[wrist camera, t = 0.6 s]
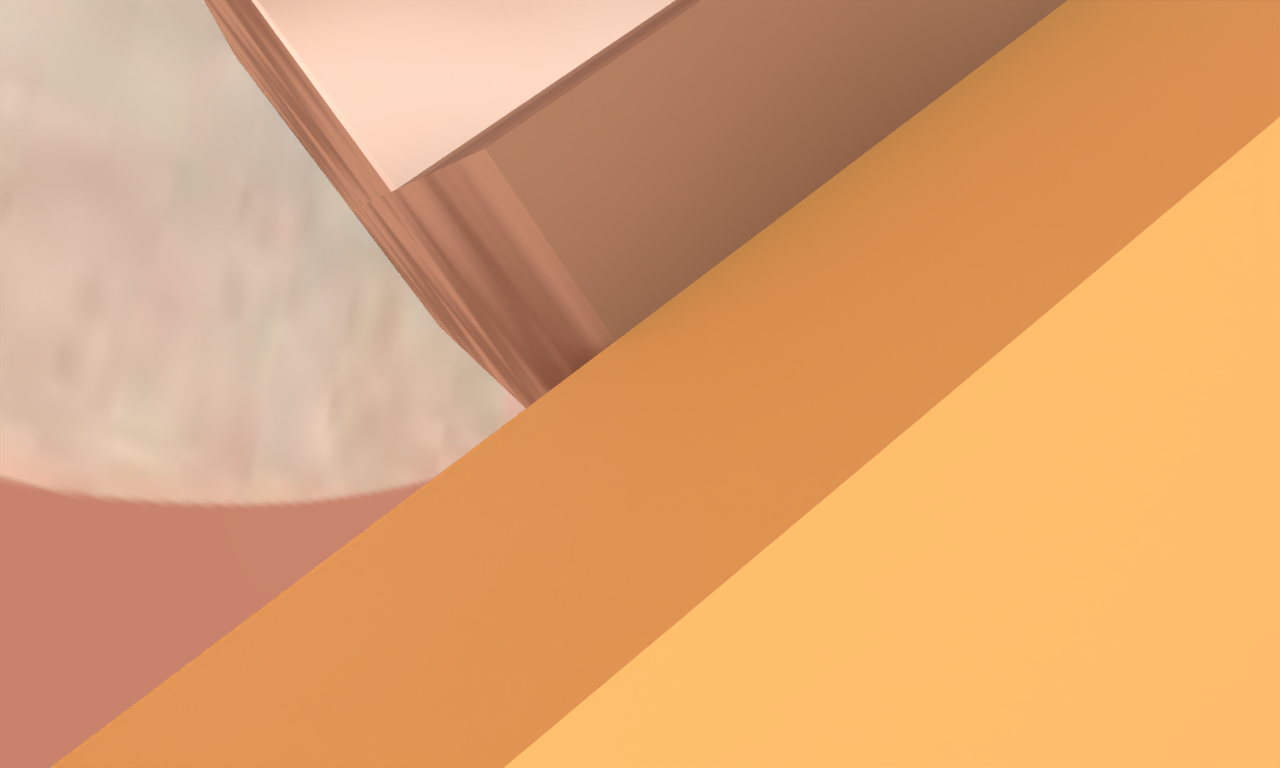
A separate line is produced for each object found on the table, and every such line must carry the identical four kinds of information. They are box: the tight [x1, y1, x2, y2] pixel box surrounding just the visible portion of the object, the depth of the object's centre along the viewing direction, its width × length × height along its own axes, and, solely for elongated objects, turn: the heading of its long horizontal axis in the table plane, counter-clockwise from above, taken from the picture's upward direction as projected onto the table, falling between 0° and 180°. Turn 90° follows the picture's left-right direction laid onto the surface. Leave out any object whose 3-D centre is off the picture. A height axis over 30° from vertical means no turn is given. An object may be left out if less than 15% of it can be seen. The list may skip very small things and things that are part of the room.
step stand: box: [204, 0, 1067, 408], centre depth 21 cm, size 13×10×32 cm
